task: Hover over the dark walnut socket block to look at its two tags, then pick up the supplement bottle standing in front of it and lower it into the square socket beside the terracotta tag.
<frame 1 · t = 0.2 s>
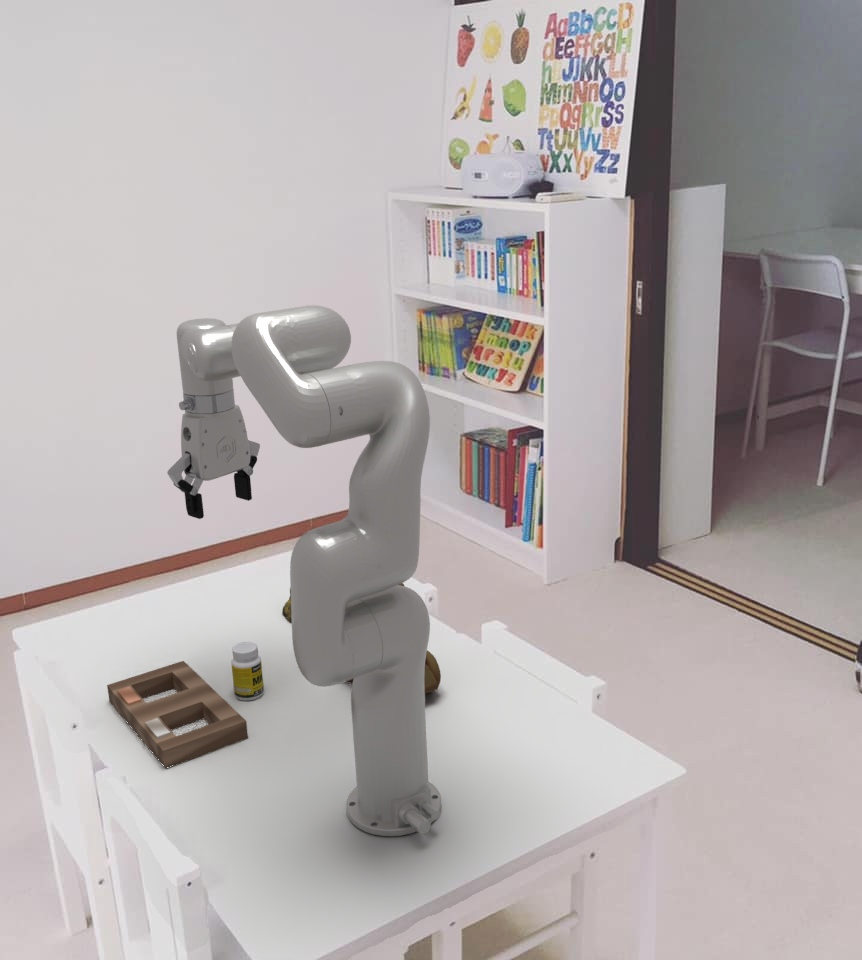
hand: (220, 507, 169), 31 cm above the table, tool pointing down, fingers open, 9 cm apart
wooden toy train: (385, 685, 176), on the table
supplement bottle: (249, 695, 175), on the table
socket block: (176, 719, 168), on the table
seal: (310, 616, 202), on the table
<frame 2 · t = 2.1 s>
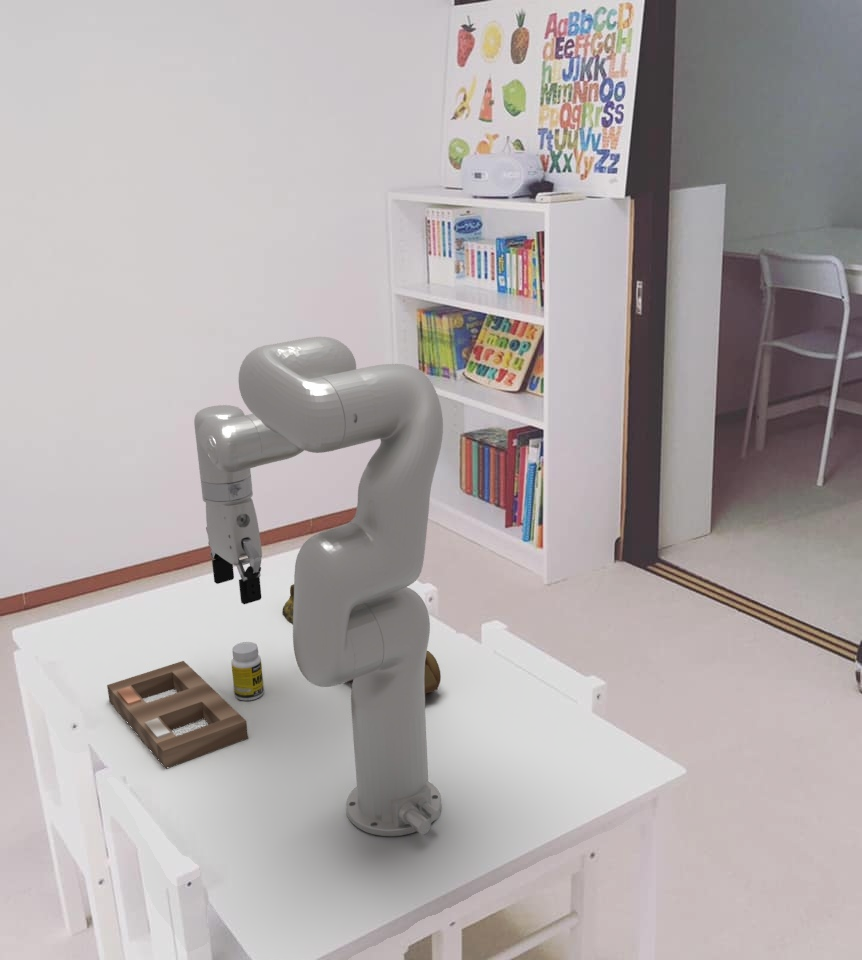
hand: (237, 591, 169), 18 cm above the table, tool pointing down, fingers open, 9 cm apart
nothing on the table moved.
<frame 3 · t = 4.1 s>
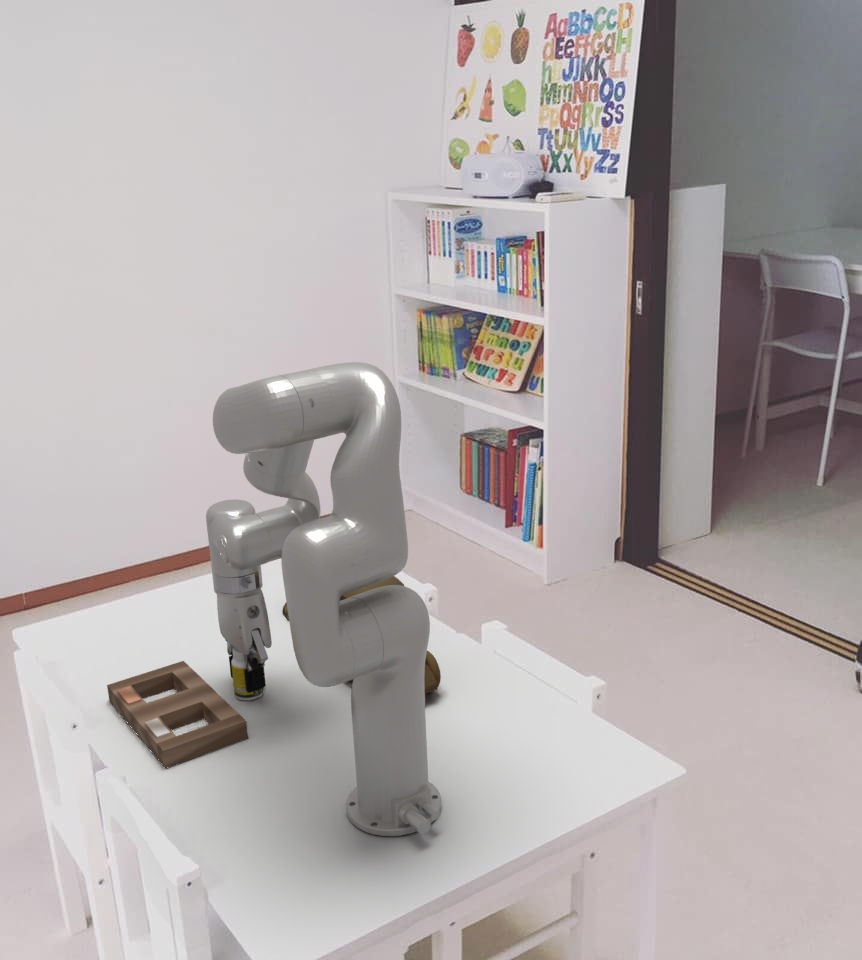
hand: (248, 681, 174), 2 cm above the table, tool pointing down, fingers closed on supplement bottle, 4 cm apart
supplement bottle: (249, 694, 175), on the table, touching gripper
everything else where it was.
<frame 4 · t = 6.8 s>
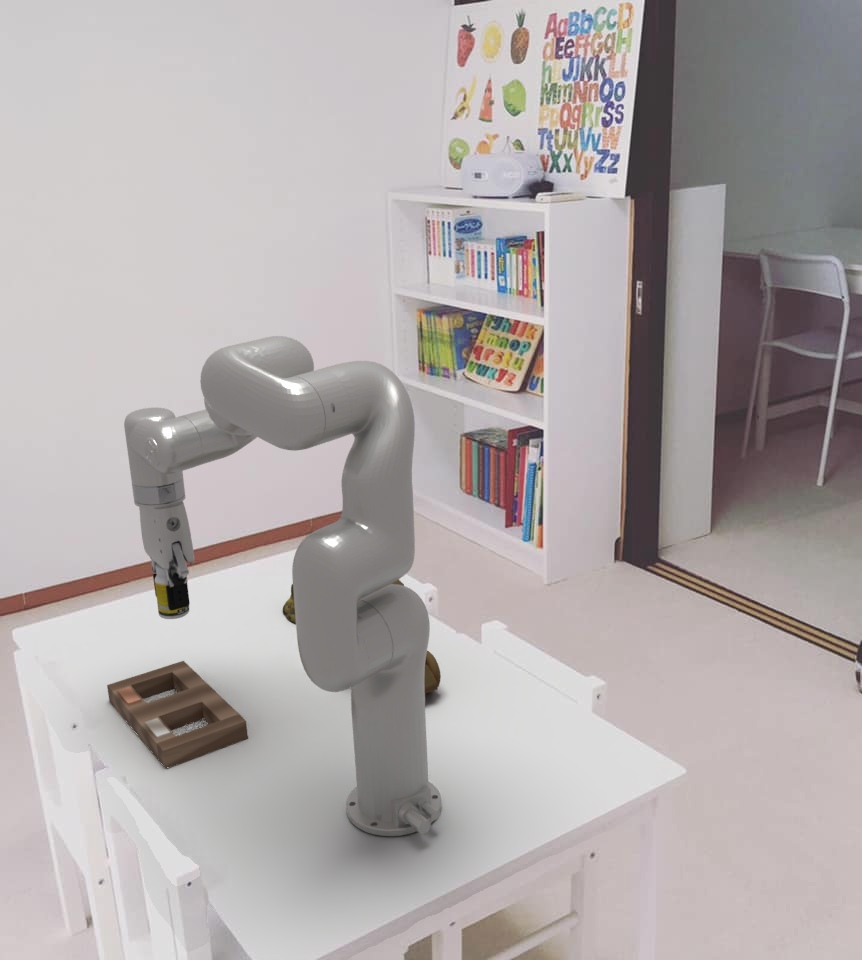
hand: (172, 600, 168), 18 cm above the table, tool pointing down, fingers closed on supplement bottle, 4 cm apart
supplement bottle: (174, 614, 169), point 15 cm above the table, touching gripper
everything else where it was.
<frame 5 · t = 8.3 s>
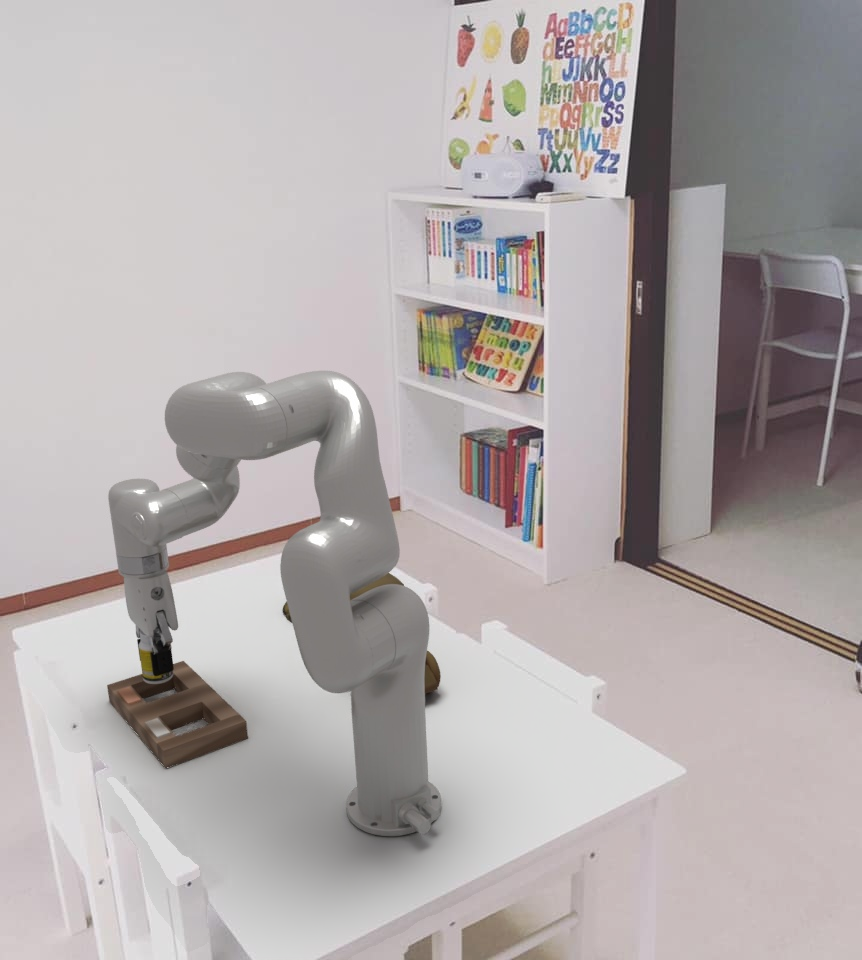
hand: (156, 665, 171), 7 cm above the table, tool pointing down, fingers closed on supplement bottle, 4 cm apart
supplement bottle: (158, 678, 171), point 4 cm above the table, touching gripper
everything else where it was.
when the fingers open (4 cm above the table, at t = 9.3 s): supplement bottle drops 1 cm, resting in socket block.
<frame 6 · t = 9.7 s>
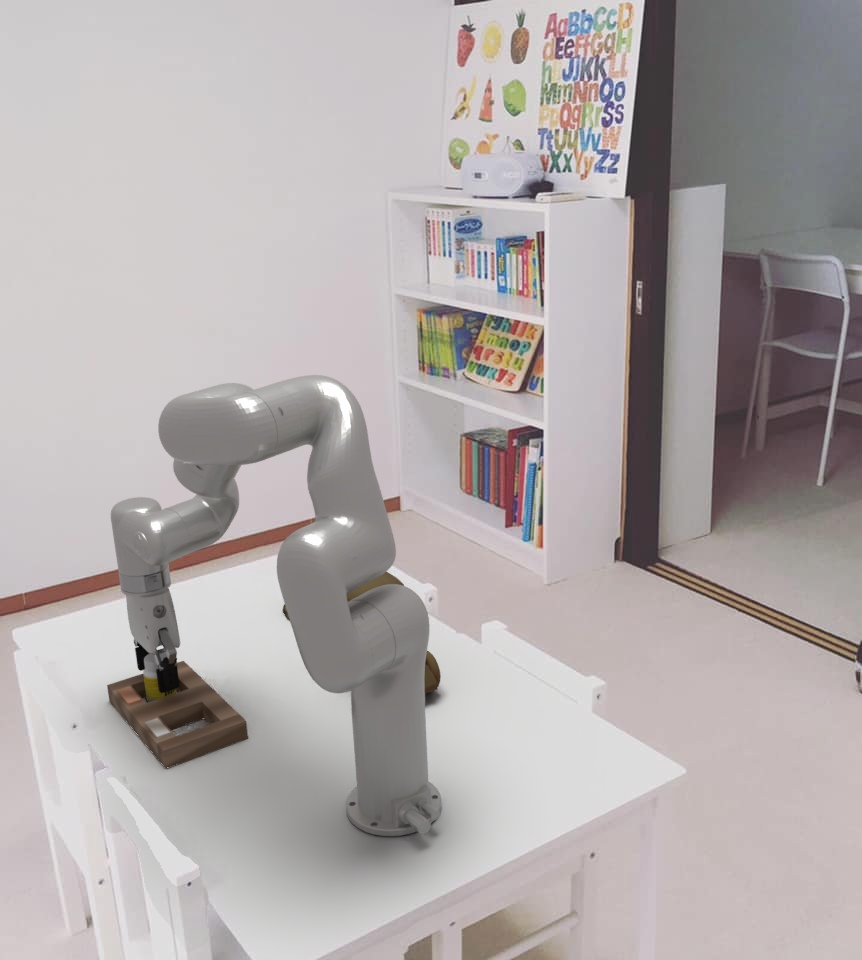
hand: (158, 678, 171), 5 cm above the table, tool pointing down, fingers open, 8 cm apart
supplement bottle: (163, 705, 173), resting in socket block
everything else where it was.
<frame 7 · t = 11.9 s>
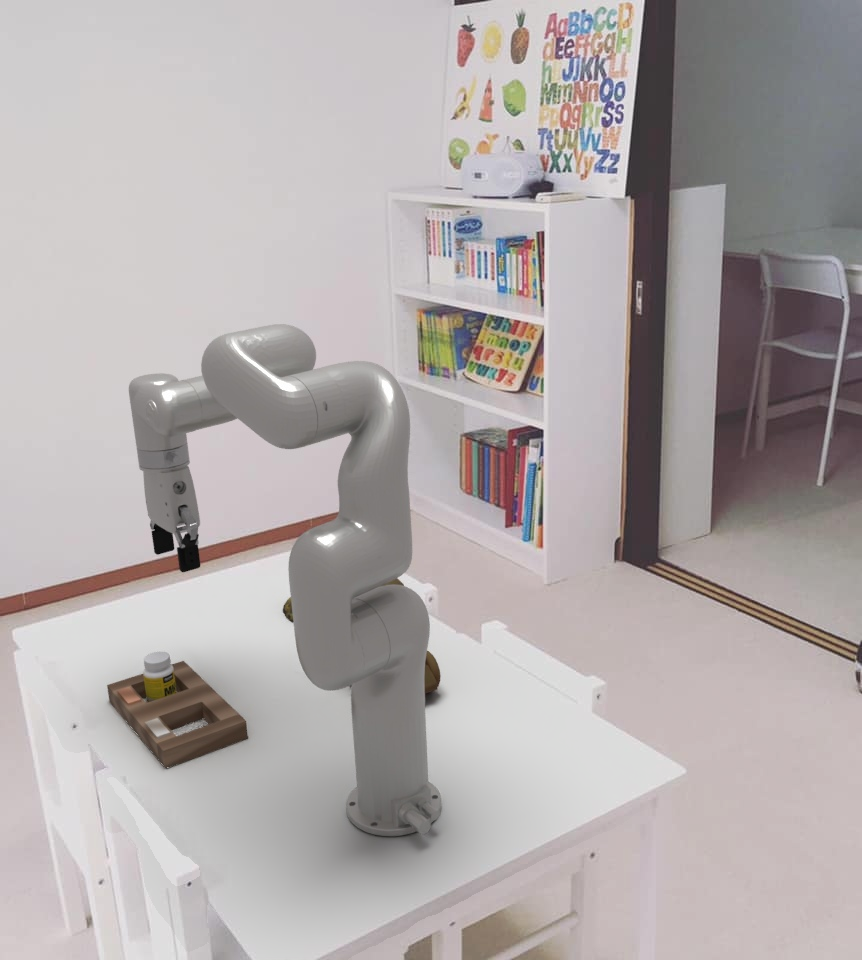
hand: (177, 560, 169), 23 cm above the table, tool pointing down, fingers open, 9 cm apart
nothing on the table moved.
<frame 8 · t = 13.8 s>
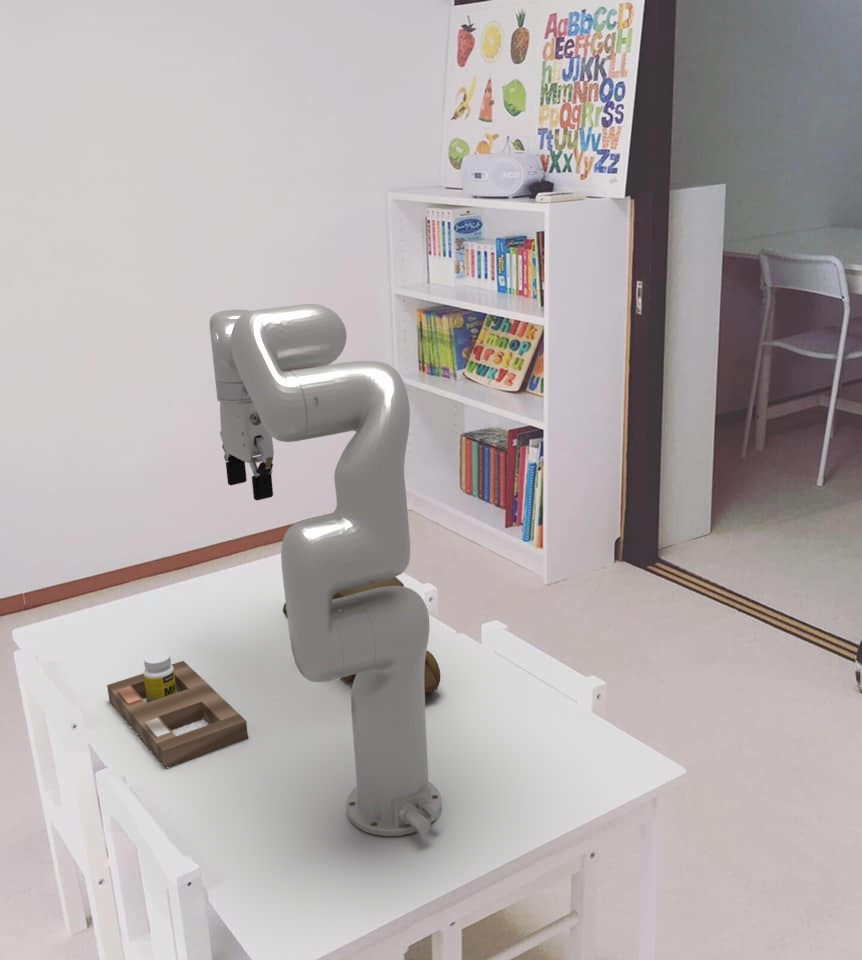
hand: (250, 490, 177), 30 cm above the table, tool pointing down, fingers open, 9 cm apart
at the end: supplement bottle 0.2 cm from the target spot on the socket block, point 0.0 cm above the socket block's base; supplement bottle tilted 0°; the gripper is holding nothing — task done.
